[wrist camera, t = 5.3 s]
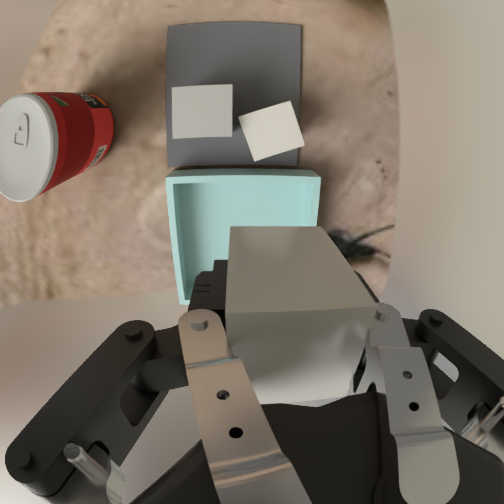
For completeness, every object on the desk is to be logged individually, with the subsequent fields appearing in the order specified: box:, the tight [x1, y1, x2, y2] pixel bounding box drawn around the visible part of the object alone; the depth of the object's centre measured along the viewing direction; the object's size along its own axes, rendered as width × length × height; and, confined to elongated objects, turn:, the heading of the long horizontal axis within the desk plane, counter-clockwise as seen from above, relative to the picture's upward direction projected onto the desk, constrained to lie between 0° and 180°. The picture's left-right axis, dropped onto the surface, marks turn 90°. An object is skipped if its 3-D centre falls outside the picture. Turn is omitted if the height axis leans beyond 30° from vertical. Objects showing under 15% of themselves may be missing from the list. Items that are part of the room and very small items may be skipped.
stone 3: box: [225, 226, 377, 404], centre depth 11 cm, size 4×4×6 cm
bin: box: [166, 168, 321, 305], centre depth 28 cm, size 13×13×3 cm
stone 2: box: [238, 101, 305, 162], centre depth 22 cm, size 4×4×5 cm
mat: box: [166, 22, 301, 167], centre depth 23 cm, size 14×12×1 cm
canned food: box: [0, 92, 114, 202], centre depth 18 cm, size 8×8×11 cm
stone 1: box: [172, 84, 234, 139], centre depth 20 cm, size 4×4×6 cm
